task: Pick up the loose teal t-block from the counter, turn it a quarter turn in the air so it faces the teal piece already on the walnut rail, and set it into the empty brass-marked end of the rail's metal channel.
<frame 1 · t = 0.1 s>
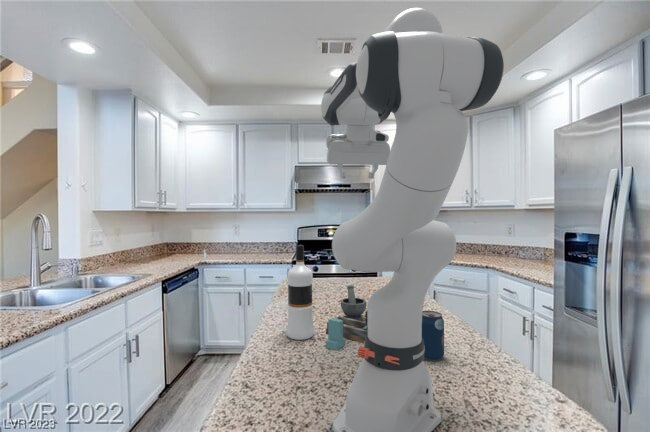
hand: (357, 178, 102), 52 cm above the countertop, tool tilted 20°, fingers open, 8 cm apart
rail: (356, 334, 103), on the countertop
teal t-block: (335, 346, 94), on the countertop
vodka: (300, 336, 103), on the countertop
mortar and pestle: (353, 318, 120), on the countertop
soda can: (431, 357, 87), on the countertop
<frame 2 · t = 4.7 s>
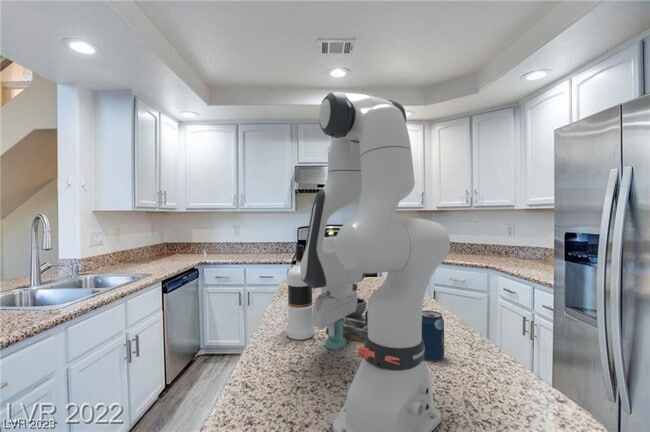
hand: (336, 333, 95), 4 cm above the countertop, tool pointing down, fingers closed on teal t-block, 3 cm apart
teal t-block: (335, 345, 94), on the countertop, touching gripper
everything else where it was.
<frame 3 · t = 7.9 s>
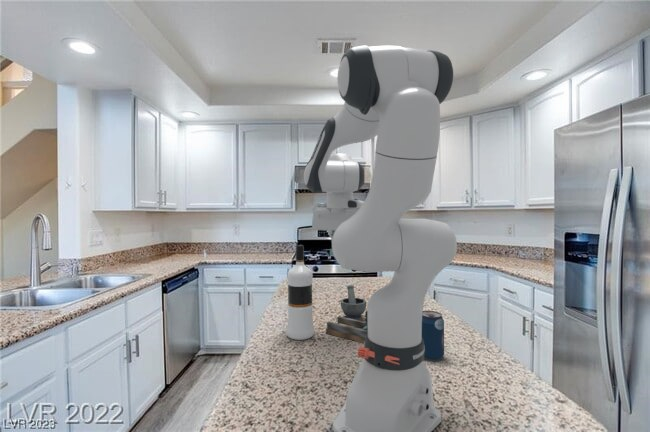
hand: (340, 244, 105), 30 cm above the countertop, tool pointing down, fingers closed on teal t-block, 3 cm apart
teal t-block: (339, 254, 105), point 26 cm above the countertop, touching gripper
everything else where it was.
when the fingers open (6 cm above the countertop, at t = 11.2 s): teal t-block stays where it is, resting on rail.
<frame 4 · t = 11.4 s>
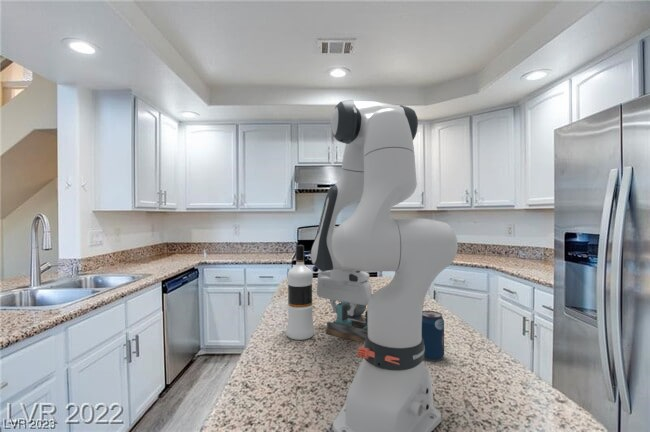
hand: (343, 313, 106), 6 cm above the countertop, tool pointing down, fingers open, 4 cm apart
teal t-block: (342, 326, 106), point 2 cm above the countertop, touching rail
everything else where it was.
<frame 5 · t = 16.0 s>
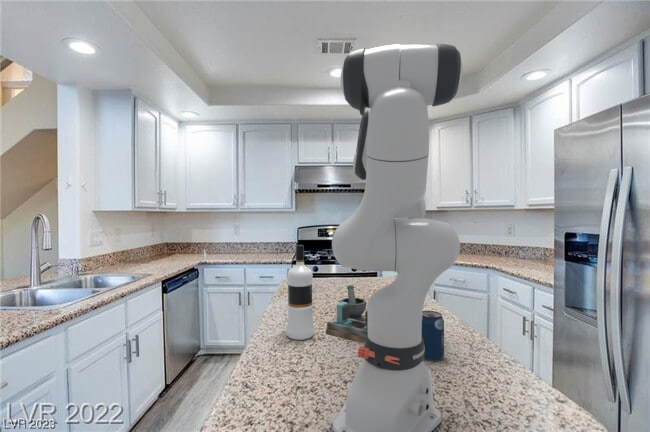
hand: (394, 231, 105), 34 cm above the countertop, tool pointing down, fingers open, 8 cm apart
nothing on the countertop moved.
at the end: teal t-block 0.1 cm from the target spot on the rail, point 1.6 cm above the rail's base; teal t-block tilted 0°; the gripper is holding nothing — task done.
